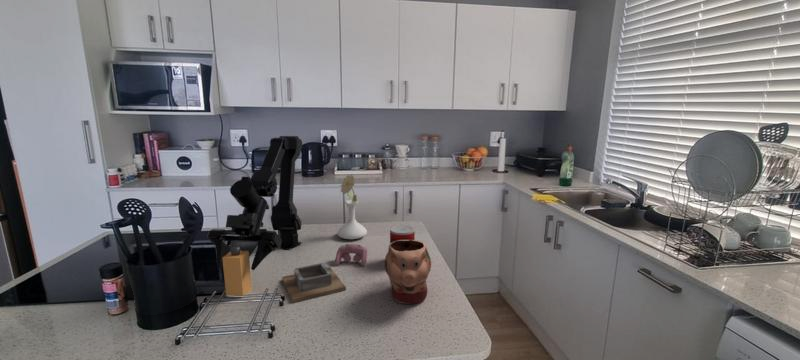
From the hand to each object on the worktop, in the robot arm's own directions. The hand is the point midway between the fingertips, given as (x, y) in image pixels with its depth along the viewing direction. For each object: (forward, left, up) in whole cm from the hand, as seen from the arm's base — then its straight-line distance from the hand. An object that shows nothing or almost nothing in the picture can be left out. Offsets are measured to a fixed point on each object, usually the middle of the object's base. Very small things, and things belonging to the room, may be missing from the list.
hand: (235, 268), depth 94 cm
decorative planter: (+38, +23, -7) cm, 45 cm away
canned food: (+28, +40, -7) cm, 49 cm away
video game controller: (+14, +31, -8) cm, 35 cm away
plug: (0, +1, -7) cm, 7 cm away
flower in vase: (+1, +50, -7) cm, 50 cm away
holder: (+14, +14, -7) cm, 21 cm away
